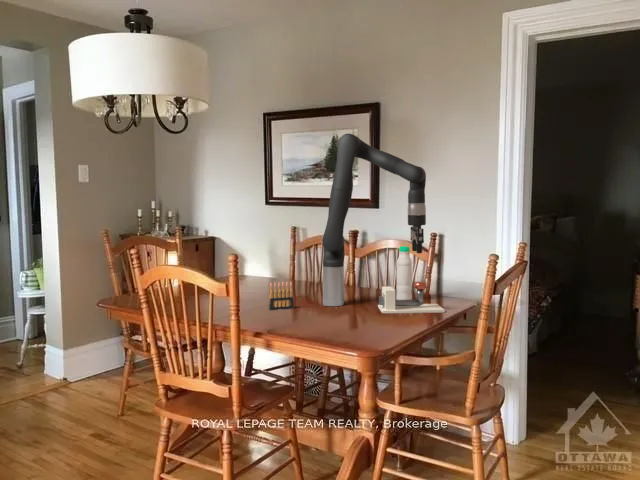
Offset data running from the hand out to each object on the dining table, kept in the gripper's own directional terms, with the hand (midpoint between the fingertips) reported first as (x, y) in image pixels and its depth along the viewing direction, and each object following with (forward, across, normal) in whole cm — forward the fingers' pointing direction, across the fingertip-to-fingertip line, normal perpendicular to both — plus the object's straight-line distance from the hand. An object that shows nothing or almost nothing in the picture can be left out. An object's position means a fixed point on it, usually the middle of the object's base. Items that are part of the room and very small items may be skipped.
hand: (417, 252), depth 242 cm
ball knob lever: (+23, +1, -7) cm, 24 cm away
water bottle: (+24, -19, -2) cm, 31 cm away
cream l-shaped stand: (+24, +1, -3) cm, 25 cm away
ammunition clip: (+24, -4, -58) cm, 63 cm away
